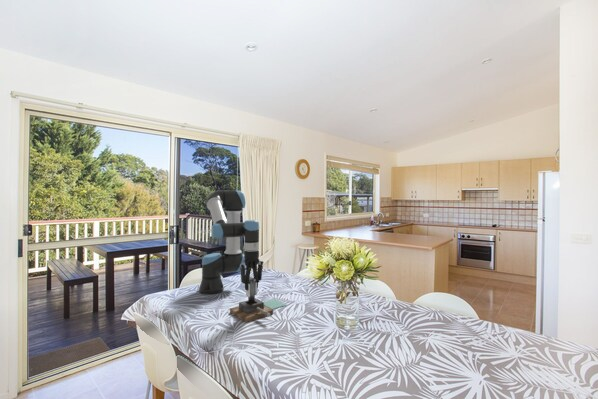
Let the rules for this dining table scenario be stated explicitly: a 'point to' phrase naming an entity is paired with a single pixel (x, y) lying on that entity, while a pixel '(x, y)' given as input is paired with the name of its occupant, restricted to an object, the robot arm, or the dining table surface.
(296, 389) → the dining table surface
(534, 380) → the dining table surface
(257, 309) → the block
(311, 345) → the dining table surface
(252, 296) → the key
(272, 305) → the mat
